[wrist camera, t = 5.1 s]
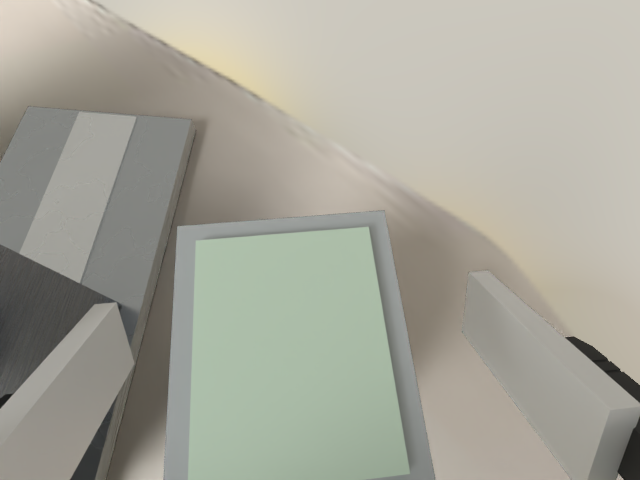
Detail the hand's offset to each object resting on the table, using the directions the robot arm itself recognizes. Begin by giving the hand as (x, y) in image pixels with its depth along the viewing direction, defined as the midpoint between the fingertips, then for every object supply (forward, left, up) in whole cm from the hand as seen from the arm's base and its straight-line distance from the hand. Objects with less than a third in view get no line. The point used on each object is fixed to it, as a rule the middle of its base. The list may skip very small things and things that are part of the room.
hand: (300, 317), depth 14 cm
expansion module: (0, -2, -5) cm, 5 cm away
